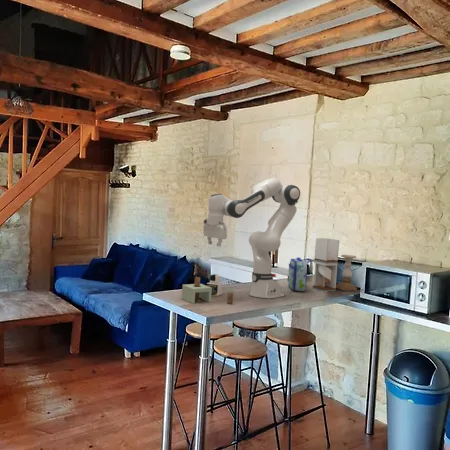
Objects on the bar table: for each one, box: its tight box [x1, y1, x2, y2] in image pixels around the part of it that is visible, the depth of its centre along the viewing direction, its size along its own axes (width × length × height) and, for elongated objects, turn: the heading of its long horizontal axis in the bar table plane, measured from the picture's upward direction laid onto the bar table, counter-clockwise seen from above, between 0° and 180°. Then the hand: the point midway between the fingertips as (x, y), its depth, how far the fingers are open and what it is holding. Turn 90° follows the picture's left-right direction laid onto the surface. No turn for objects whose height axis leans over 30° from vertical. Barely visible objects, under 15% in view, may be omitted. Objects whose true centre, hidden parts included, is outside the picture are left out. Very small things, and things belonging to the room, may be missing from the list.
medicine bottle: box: [206, 273, 223, 297], centre depth 268 cm, size 7×7×12 cm
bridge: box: [181, 283, 212, 305], centre depth 250 cm, size 12×12×8 cm
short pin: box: [226, 292, 234, 305], centre depth 247 cm, size 3×3×6 cm
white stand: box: [311, 237, 340, 293], centre depth 305 cm, size 11×11×35 cm
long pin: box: [193, 276, 201, 302], centre depth 250 cm, size 3×3×13 cm
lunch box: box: [287, 257, 308, 292], centre depth 302 cm, size 26×11×21 cm, turn 178°
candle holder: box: [336, 254, 358, 291], centre depth 312 cm, size 11×11×24 cm
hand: (214, 245), depth 259 cm, fingers open, 8 cm apart
